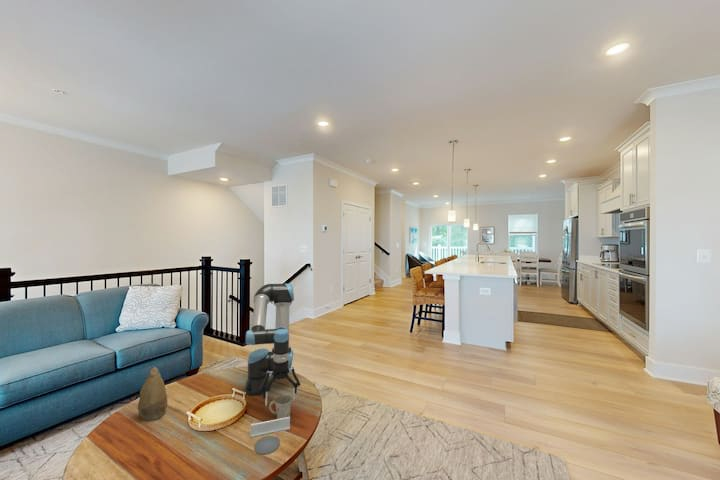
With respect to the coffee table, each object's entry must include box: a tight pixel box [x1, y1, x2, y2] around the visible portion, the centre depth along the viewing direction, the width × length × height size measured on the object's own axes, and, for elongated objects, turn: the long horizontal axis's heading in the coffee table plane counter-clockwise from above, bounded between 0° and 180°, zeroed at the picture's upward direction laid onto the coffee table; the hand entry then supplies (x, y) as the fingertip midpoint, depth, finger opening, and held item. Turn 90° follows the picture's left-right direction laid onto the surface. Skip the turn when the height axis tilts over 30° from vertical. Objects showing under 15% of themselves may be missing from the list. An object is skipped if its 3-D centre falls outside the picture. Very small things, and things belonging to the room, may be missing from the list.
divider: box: [250, 416, 291, 439], centre depth 136 cm, size 3×18×5 cm, turn 111°
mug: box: [268, 394, 293, 419], centre depth 146 cm, size 8×13×10 cm, turn 78°
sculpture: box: [137, 366, 168, 421], centre depth 146 cm, size 12×11×25 cm
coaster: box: [253, 435, 281, 456], centre depth 127 cm, size 11×11×1 cm
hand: (279, 401), depth 146 cm, fingers open, 13 cm apart
